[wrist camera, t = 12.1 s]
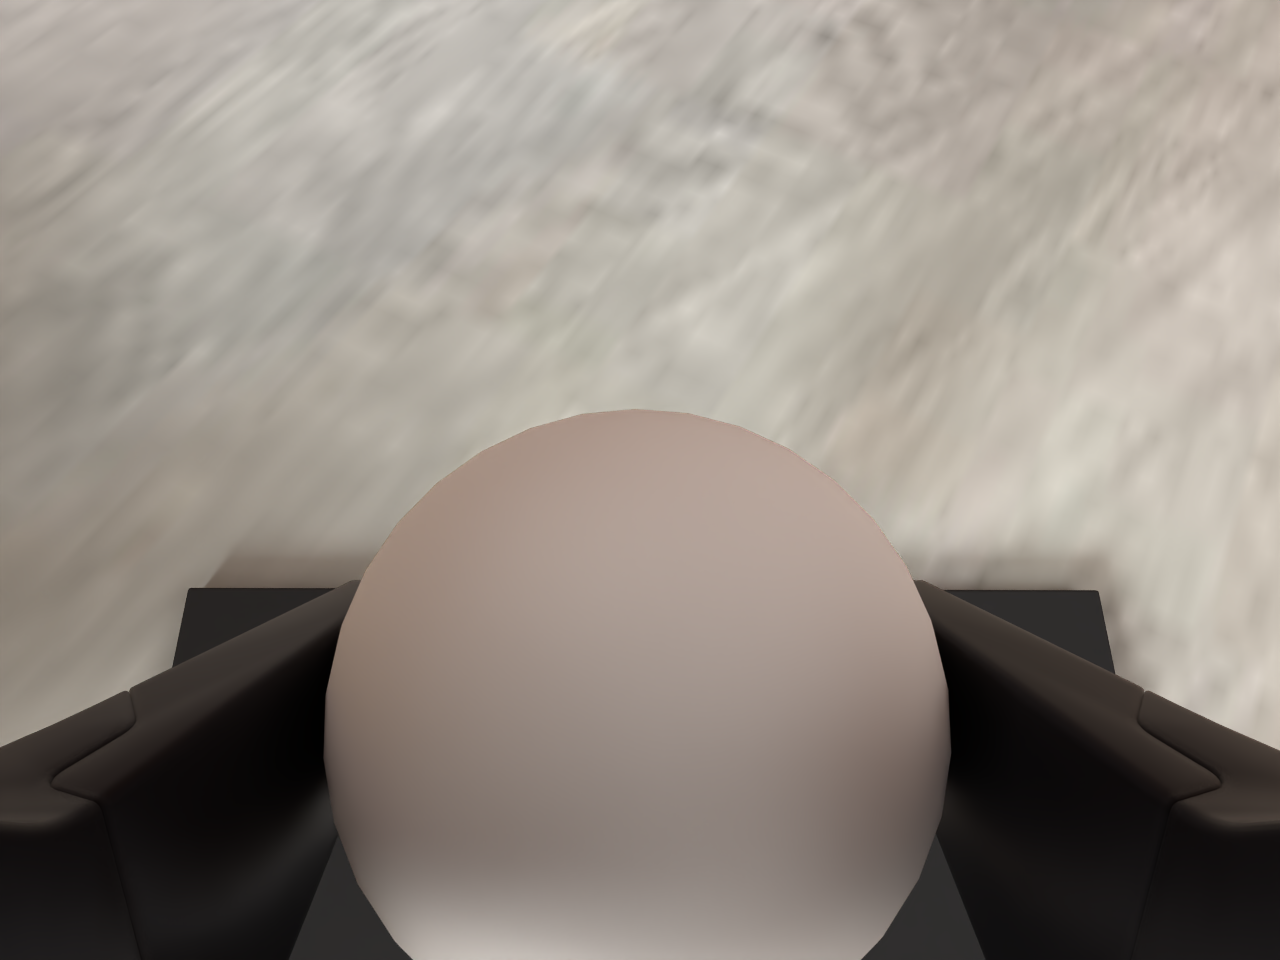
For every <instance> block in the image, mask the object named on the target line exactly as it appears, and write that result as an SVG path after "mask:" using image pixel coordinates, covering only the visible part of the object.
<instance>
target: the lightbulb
mask: <svg viewBox="0 0 1280 960" xmlns="http://www.w3.org/2000/svg"><path fill="white" fill-rule="evenodd" d="M950 758H951V737H950V716H949V695H948V687H947V683H946V678H945V674H944V670H943V666H942V662H941V658H940V654H939V650H938V645H937V641H936V637H935V633H934V629H933V626H932V622H931V619H930V617H929V615H928V612H927V610H926V608H925V606H924V604H923V601H922V599H921V597H920V595H919V593H918V590H917V588H916V586H915V584H914V581H913V579H912V577H911V575H910V573H909V570H908V568H907V566H906V565H905V563H904V562H903V560H902V559H901V558H900V556H899V555H898V553H897V552H896V550H895V549H894V548H893V546H892V545H891V543H890V542H889V540H888V539H887V538H886V536H885V535H884V533H883V532H882V530H881V529H880V527H879V526H878V525H877V523H876V522H875V520H874V519H873V518H872V517H871V516H870V515H869V514H868V513H867V512H866V511H865V510H864V509H863V508H862V507H861V506H860V505H859V504H858V503H857V502H856V501H855V500H854V499H853V498H852V497H851V496H850V495H849V494H848V493H847V492H846V491H845V490H844V489H843V488H842V487H841V486H840V485H839V484H838V483H837V482H836V481H835V480H833V479H832V478H830V477H829V476H827V475H826V474H825V473H823V472H822V471H820V470H819V469H817V468H816V467H814V466H813V465H811V464H810V463H809V462H807V461H806V460H804V459H803V458H801V457H800V456H798V455H797V454H796V453H794V452H793V451H791V450H790V449H788V448H786V447H783V446H781V445H779V444H777V443H775V442H772V441H770V440H768V439H766V438H764V437H761V436H759V435H757V434H755V433H753V432H751V431H748V430H746V429H744V428H742V427H739V426H735V425H731V424H728V423H724V422H720V421H716V420H712V419H708V418H704V417H700V416H697V415H693V414H689V413H678V412H665V411H653V410H640V409H631V410H621V411H610V412H599V413H589V414H581V415H577V416H573V417H570V418H566V419H563V420H559V421H555V422H552V423H548V424H544V425H541V426H537V427H533V428H530V429H528V430H526V431H524V432H522V433H520V434H517V435H515V436H513V437H511V438H509V439H507V440H505V441H503V442H500V443H498V444H496V445H494V446H492V447H490V448H488V449H486V450H484V451H482V452H480V453H479V454H477V455H476V456H474V457H473V458H472V459H470V460H469V461H467V462H466V463H465V464H463V465H462V466H460V467H459V468H458V469H456V470H455V471H453V472H452V473H451V474H449V475H448V476H446V477H445V478H443V479H442V480H441V481H439V482H438V483H437V484H436V485H435V486H434V487H433V488H432V489H431V490H430V491H429V492H428V493H427V494H426V495H425V496H424V497H423V498H422V499H421V500H420V501H419V502H418V503H417V504H416V505H415V506H414V507H413V508H412V509H411V510H410V511H409V512H408V513H407V514H406V515H405V516H404V517H403V518H402V519H401V520H400V521H399V522H398V523H397V525H396V526H395V528H394V529H393V531H392V532H391V534H390V535H389V537H388V538H387V540H386V541H385V543H384V544H383V546H382V547H381V548H380V550H379V551H378V553H377V554H376V556H375V557H374V559H373V560H372V562H371V563H370V565H369V566H368V568H367V569H366V571H365V573H364V575H363V577H362V580H361V582H360V584H359V587H358V589H357V591H356V593H355V596H354V598H353V600H352V603H351V605H350V607H349V609H348V612H347V614H346V616H345V619H344V621H343V623H342V626H341V630H340V634H339V638H338V643H337V647H336V651H335V656H334V660H333V664H332V669H331V673H330V678H329V682H328V686H327V691H326V696H325V726H324V756H323V759H324V765H325V771H326V777H327V783H328V789H329V795H330V801H331V807H332V813H333V819H334V823H335V826H336V829H337V831H338V834H339V836H340V839H341V842H342V844H343V847H344V850H345V852H346V855H347V857H348V860H349V863H350V865H351V868H352V870H353V873H354V876H355V878H356V881H357V883H358V885H359V887H360V888H361V890H362V891H363V893H364V894H365V896H366V898H367V899H368V901H369V902H370V904H371V905H372V907H373V908H374V910H375V911H376V913H377V915H378V916H379V918H380V919H381V921H382V922H383V924H384V925H385V927H386V928H387V930H388V932H389V933H390V935H391V936H392V938H393V939H394V941H395V942H396V943H397V944H398V945H399V946H400V947H401V948H402V949H403V950H404V951H405V952H406V953H407V954H408V955H409V956H410V957H411V958H412V959H413V960H861V959H862V958H863V957H864V956H865V955H866V954H867V953H868V952H869V951H870V950H871V949H872V948H873V947H874V946H875V945H876V944H877V943H878V941H879V940H880V939H881V938H882V937H883V936H884V934H885V932H886V931H887V929H888V928H889V926H890V924H891V923H892V921H893V920H894V918H895V916H896V915H897V913H898V912H899V910H900V908H901V907H902V905H903V904H904V902H905V900H906V899H907V897H908V896H909V894H910V892H911V891H912V889H913V888H914V886H915V884H916V883H917V881H918V880H919V877H920V874H921V872H922V869H923V866H924V864H925V861H926V858H927V855H928V853H929V850H930V847H931V844H932V842H933V839H934V836H935V833H936V831H937V828H938V825H939V823H940V820H941V817H942V811H943V804H944V798H945V791H946V784H947V778H948V771H949V764H950Z"/></svg>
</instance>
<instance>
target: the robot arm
mask: <svg viewBox="0 0 1280 960" xmlns="http://www.w3.org/2000/svg"><path fill="white" fill-rule="evenodd" d="M913 581H914V584H915V586H916V588H917V590H918V593H919V595H920V597H921V599H922V601H923V604H924V606H925V608H926V610H927V612H928V615H929V617H930V619H931V622H932V626H933V629H934V633H935V637H936V641H937V645H938V650H939V654H940V658H941V662H942V666H943V670H944V674H945V678H946V683H947V687H948V695H949V716H950V737H951V758H950V764H949V771H948V778H947V784H946V791H945V798H944V804H943V811H942V817H941V820H940V823H939V825H938V828H937V831H936V836H937V838H938V841H939V843H940V846H941V848H942V851H943V853H944V856H945V858H946V861H947V864H948V866H949V869H950V871H951V874H952V876H953V879H954V881H955V884H956V886H957V889H958V891H959V894H960V897H961V899H962V902H963V904H964V907H965V909H966V912H967V914H968V917H969V919H970V922H971V924H972V927H973V930H974V932H975V935H976V937H977V940H978V942H979V945H980V947H981V950H982V952H983V955H984V957H985V960H1280V750H1277V749H1275V748H1272V747H1270V746H1268V745H1266V744H1263V743H1261V742H1259V741H1256V740H1254V739H1252V738H1250V737H1247V736H1245V735H1243V734H1240V733H1238V732H1236V731H1233V730H1231V729H1229V728H1227V727H1224V726H1222V725H1220V724H1218V723H1215V722H1213V721H1211V720H1209V719H1207V718H1205V717H1203V716H1201V715H1198V714H1196V713H1194V712H1192V711H1190V710H1188V709H1186V708H1184V707H1181V706H1179V705H1177V704H1175V703H1173V702H1171V701H1169V700H1167V699H1165V698H1163V697H1161V696H1159V695H1157V694H1155V693H1153V692H1151V691H1146V692H1144V689H1143V688H1142V687H1140V686H1138V685H1136V684H1134V683H1132V682H1130V681H1128V680H1126V679H1124V678H1122V677H1120V676H1117V675H1115V674H1113V673H1111V672H1109V671H1107V670H1105V669H1103V668H1101V667H1099V666H1097V665H1095V664H1093V663H1091V662H1089V661H1087V660H1085V659H1083V658H1081V657H1079V656H1077V655H1075V654H1072V653H1070V652H1068V651H1066V650H1064V649H1062V648H1060V647H1058V646H1056V645H1054V644H1052V643H1050V642H1048V641H1046V640H1044V639H1042V638H1040V637H1038V636H1036V635H1034V634H1032V633H1030V632H1027V631H1025V630H1023V629H1021V628H1019V627H1017V626H1015V625H1013V624H1011V623H1009V622H1007V621H1005V620H1003V619H1001V618H999V617H997V616H995V615H993V614H991V613H989V612H987V611H985V610H982V609H980V608H978V607H976V606H974V605H972V604H970V603H968V602H966V601H964V600H962V599H960V598H958V597H956V596H954V595H952V594H950V593H948V592H946V591H944V590H942V589H940V588H937V587H935V586H933V585H931V584H929V583H927V582H925V581H921V580H913ZM360 582H361V580H354V581H350V582H348V583H346V584H344V585H342V586H340V587H338V588H336V589H334V590H332V591H330V592H327V593H325V594H323V595H321V596H319V597H317V598H315V599H313V600H311V601H309V602H307V603H305V604H303V605H301V606H299V607H297V608H294V609H292V610H290V611H288V612H286V613H284V614H282V615H280V616H278V617H276V618H274V619H272V620H270V621H268V622H266V623H264V624H261V625H259V626H257V627H255V628H253V629H251V630H249V631H247V632H245V633H243V634H241V635H239V636H237V637H235V638H233V639H231V640H228V641H226V642H224V643H222V644H220V645H218V646H216V647H214V648H212V649H210V650H208V651H206V652H204V653H202V654H200V655H198V656H195V657H193V658H191V659H189V660H187V661H185V662H183V663H181V664H179V665H177V666H175V667H173V668H171V669H169V670H167V671H165V672H162V673H160V674H158V675H156V676H154V677H152V678H150V679H148V680H146V681H144V682H142V683H140V684H138V685H136V686H134V687H132V688H131V689H130V691H129V692H130V693H129V692H128V691H123V692H121V693H119V694H117V695H115V696H113V697H111V698H109V699H106V700H104V701H102V702H100V703H98V704H96V705H94V706H92V707H90V708H88V709H85V710H83V711H81V712H79V713H77V714H75V715H73V716H70V717H68V718H66V719H64V720H62V721H60V722H57V723H55V724H53V725H51V726H49V727H46V728H44V729H42V730H39V731H37V732H35V733H32V734H30V735H28V736H25V737H23V738H21V739H19V740H16V741H14V742H12V743H9V744H7V745H5V746H2V747H0V960H289V958H290V955H291V953H292V950H293V948H294V945H295V943H296V940H297V938H298V935H299V933H300V930H301V928H302V925H303V923H304V920H305V918H306V915H307V913H308V910H309V908H310V905H311V903H312V900H313V898H314V895H315V893H316V890H317V888H318V885H319V883H320V880H321V878H322V875H323V873H324V870H325V868H326V865H327V863H328V860H329V858H330V855H331V853H332V850H333V848H334V845H335V843H336V840H337V837H338V835H339V834H338V831H337V829H336V826H335V823H334V819H333V813H332V807H331V801H330V795H329V789H328V783H327V777H326V771H325V765H324V759H323V756H324V726H325V696H326V691H327V686H328V682H329V678H330V673H331V669H332V664H333V660H334V656H335V651H336V647H337V643H338V638H339V634H340V630H341V626H342V623H343V621H344V619H345V616H346V614H347V612H348V609H349V607H350V605H351V603H352V600H353V598H354V596H355V593H356V591H357V589H358V587H359V584H360Z"/></svg>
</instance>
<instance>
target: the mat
mask: <svg viewBox="0 0 1280 960" xmlns="http://www.w3.org/2000/svg"><path fill="white" fill-rule="evenodd" d="M334 589H336V588H190V589H189V590H188V593H187V598H186V603H185V608H184V613H183V618H182V623H181V628H180V632H179V637H178V642H177V647H176V652H175V657H174V662H173V667H175V666H177V665H179V664H181V663H183V662H185V661H187V660H189V659H191V658H193V657H195V656H198V655H200V654H202V653H204V652H206V651H208V650H210V649H212V648H214V647H216V646H218V645H220V644H222V643H224V642H226V641H228V640H231V639H233V638H235V637H237V636H239V635H241V634H243V633H245V632H247V631H249V630H251V629H253V628H255V627H257V626H259V625H261V624H264V623H266V622H268V621H270V620H272V619H274V618H276V617H278V616H280V615H282V614H284V613H286V612H288V611H290V610H292V609H294V608H297V607H299V606H301V605H303V604H305V603H307V602H309V601H311V600H313V599H315V598H317V597H319V596H321V595H323V594H325V593H327V592H330V591H332V590H334ZM944 591H946V592H948V593H950V594H952V595H954V596H956V597H958V598H960V599H962V600H964V601H966V602H968V603H970V604H972V605H974V606H976V607H978V608H980V609H982V610H985V611H987V612H989V613H991V614H993V615H995V616H997V617H999V618H1001V619H1003V620H1005V621H1007V622H1009V623H1011V624H1013V625H1015V626H1017V627H1019V628H1021V629H1023V630H1025V631H1027V632H1030V633H1032V634H1034V635H1036V636H1038V637H1040V638H1042V639H1044V640H1046V641H1048V642H1050V643H1052V644H1054V645H1056V646H1058V647H1060V648H1062V649H1064V650H1066V651H1068V652H1070V653H1072V654H1075V655H1077V656H1079V657H1081V658H1083V659H1085V660H1087V661H1089V662H1091V663H1093V664H1095V665H1097V666H1099V667H1101V668H1103V669H1105V670H1107V671H1109V672H1111V673H1113V674H1115V670H1114V665H1113V660H1112V656H1111V651H1110V646H1109V641H1108V636H1107V631H1106V626H1105V621H1104V616H1103V611H1102V606H1101V602H1100V597H1099V592H1098V591H1095V590H944ZM173 667H172V668H173ZM289 960H413V959H412V958H411V957H410V956H409V955H408V954H407V953H406V952H405V951H404V950H403V949H402V948H401V947H400V946H399V945H398V944H397V943H396V942H395V941H394V939H393V938H392V936H391V935H390V933H389V932H388V930H387V928H386V927H385V925H384V924H383V922H382V921H381V919H380V918H379V916H378V915H377V913H376V911H375V910H374V908H373V907H372V905H371V904H370V902H369V901H368V899H367V898H366V896H365V894H364V893H363V891H362V890H361V888H360V887H359V885H358V883H357V881H356V878H355V876H354V873H353V870H352V868H351V865H350V863H349V860H348V857H347V855H346V852H345V850H344V847H343V844H342V842H341V839H340V836H339V835H338V837H337V840H336V843H335V845H334V848H333V850H332V853H331V855H330V858H329V860H328V863H327V865H326V868H325V870H324V873H323V875H322V878H321V880H320V883H319V885H318V888H317V890H316V893H315V895H314V898H313V900H312V903H311V905H310V908H309V910H308V913H307V915H306V918H305V920H304V923H303V925H302V928H301V930H300V933H299V935H298V938H297V940H296V943H295V945H294V948H293V950H292V953H291V955H290V958H289ZM861 960H985V957H984V955H983V952H982V950H981V947H980V945H979V942H978V940H977V937H976V935H975V932H974V930H973V927H972V924H971V922H970V919H969V917H968V914H967V912H966V909H965V907H964V904H963V902H962V899H961V897H960V894H959V891H958V889H957V886H956V884H955V881H954V879H953V876H952V874H951V871H950V869H949V866H948V864H947V861H946V858H945V856H944V853H943V851H942V848H941V846H940V843H939V841H938V838H937V836H936V833H935V836H934V839H933V842H932V844H931V847H930V850H929V853H928V855H927V858H926V861H925V864H924V866H923V869H922V872H921V874H920V877H919V880H918V881H917V883H916V884H915V886H914V888H913V889H912V891H911V892H910V894H909V896H908V897H907V899H906V900H905V902H904V904H903V905H902V907H901V908H900V910H899V912H898V913H897V915H896V916H895V918H894V920H893V921H892V923H891V924H890V926H889V928H888V929H887V931H886V932H885V934H884V936H883V937H882V938H881V939H880V940H879V941H878V943H877V944H876V945H875V946H874V947H873V948H872V949H871V950H870V951H869V952H868V953H867V954H866V955H865V956H864V957H863V958H862V959H861Z"/></svg>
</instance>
